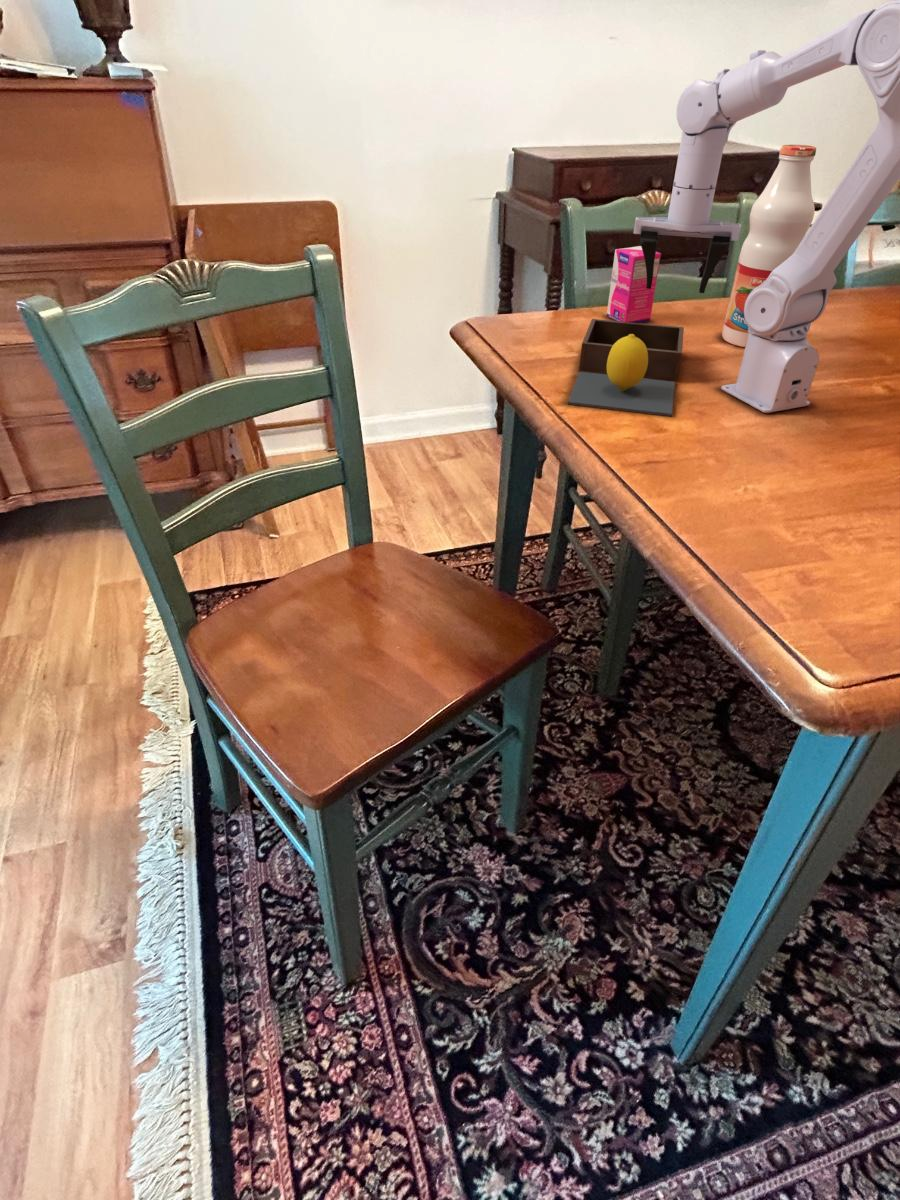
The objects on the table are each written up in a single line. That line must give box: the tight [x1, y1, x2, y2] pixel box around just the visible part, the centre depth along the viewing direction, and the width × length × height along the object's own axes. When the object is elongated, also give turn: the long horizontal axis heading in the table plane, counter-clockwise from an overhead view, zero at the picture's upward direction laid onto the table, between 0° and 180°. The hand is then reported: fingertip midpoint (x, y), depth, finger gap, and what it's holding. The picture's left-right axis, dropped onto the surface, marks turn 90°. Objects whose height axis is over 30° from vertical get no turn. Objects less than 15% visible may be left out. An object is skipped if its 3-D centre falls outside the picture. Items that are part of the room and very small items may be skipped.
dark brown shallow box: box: [578, 318, 685, 383], centre depth 114 cm, size 14×12×4 cm
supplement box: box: [606, 245, 662, 324], centre depth 130 cm, size 6×6×12 cm
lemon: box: [607, 334, 648, 391], centre depth 103 cm, size 6×6×8 cm
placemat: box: [567, 371, 676, 417], centre depth 105 cm, size 14×12×1 cm
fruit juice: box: [721, 144, 817, 348], centre depth 116 cm, size 9×9×28 cm
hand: (675, 289), depth 111 cm, fingers open, 7 cm apart
